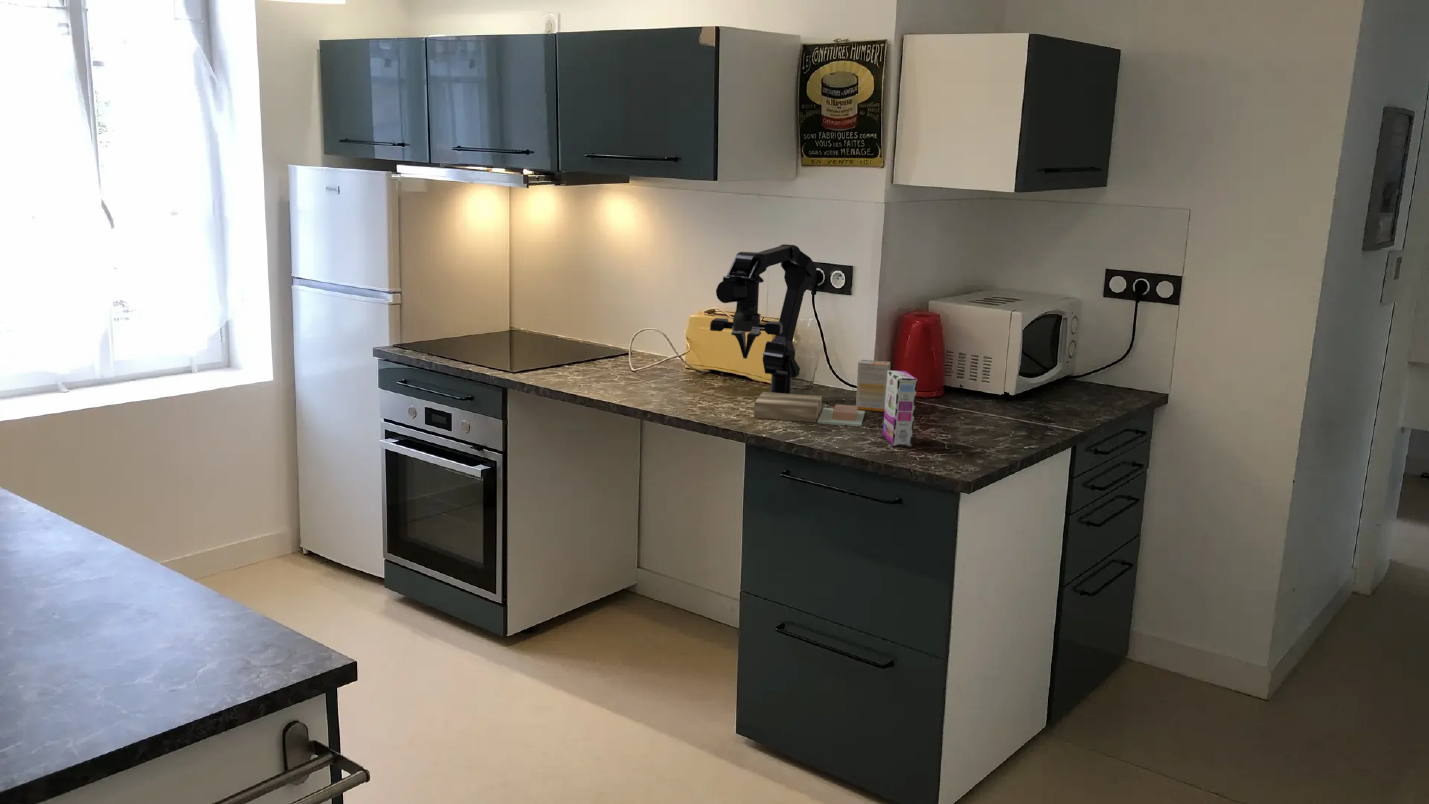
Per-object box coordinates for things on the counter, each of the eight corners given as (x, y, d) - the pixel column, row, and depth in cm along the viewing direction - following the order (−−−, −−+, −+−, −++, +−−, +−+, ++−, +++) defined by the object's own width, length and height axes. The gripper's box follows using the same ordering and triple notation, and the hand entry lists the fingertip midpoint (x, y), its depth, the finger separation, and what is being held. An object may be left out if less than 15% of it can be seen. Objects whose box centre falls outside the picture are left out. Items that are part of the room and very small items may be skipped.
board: (762, 406, 300) (762, 391, 300) (821, 410, 297) (822, 396, 297) (754, 417, 287) (754, 402, 286) (815, 422, 284) (816, 407, 283)
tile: (858, 406, 293) (857, 413, 293) (835, 404, 294) (835, 411, 294) (856, 413, 284) (855, 420, 284) (832, 411, 285) (832, 419, 286)
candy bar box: (913, 447, 263) (918, 378, 259) (892, 446, 262) (897, 378, 259) (901, 435, 273) (906, 369, 270) (881, 435, 273) (886, 369, 270)
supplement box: (888, 409, 303) (891, 361, 300) (885, 412, 298) (888, 364, 296) (858, 405, 305) (861, 358, 303) (854, 409, 301) (857, 361, 298)
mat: (823, 410, 298) (823, 408, 298) (864, 413, 296) (864, 411, 296) (817, 423, 283) (817, 421, 283) (860, 426, 281) (861, 424, 281)
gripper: (706, 301, 288) (704, 361, 291) (778, 305, 285) (775, 365, 288) (715, 297, 299) (713, 354, 302) (784, 300, 295) (781, 358, 299)
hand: (745, 358), depth 298 cm, fingers closed
